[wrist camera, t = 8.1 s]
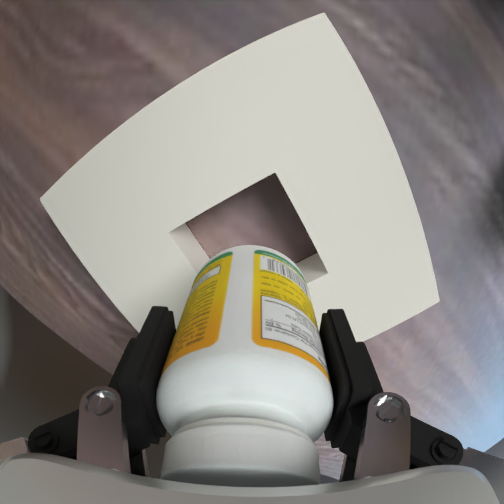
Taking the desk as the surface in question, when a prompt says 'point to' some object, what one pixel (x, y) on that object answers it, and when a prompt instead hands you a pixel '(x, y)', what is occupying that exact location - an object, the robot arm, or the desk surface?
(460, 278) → the desk surface
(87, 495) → the robot arm
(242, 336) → the supplement bottle
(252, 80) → the hole board
